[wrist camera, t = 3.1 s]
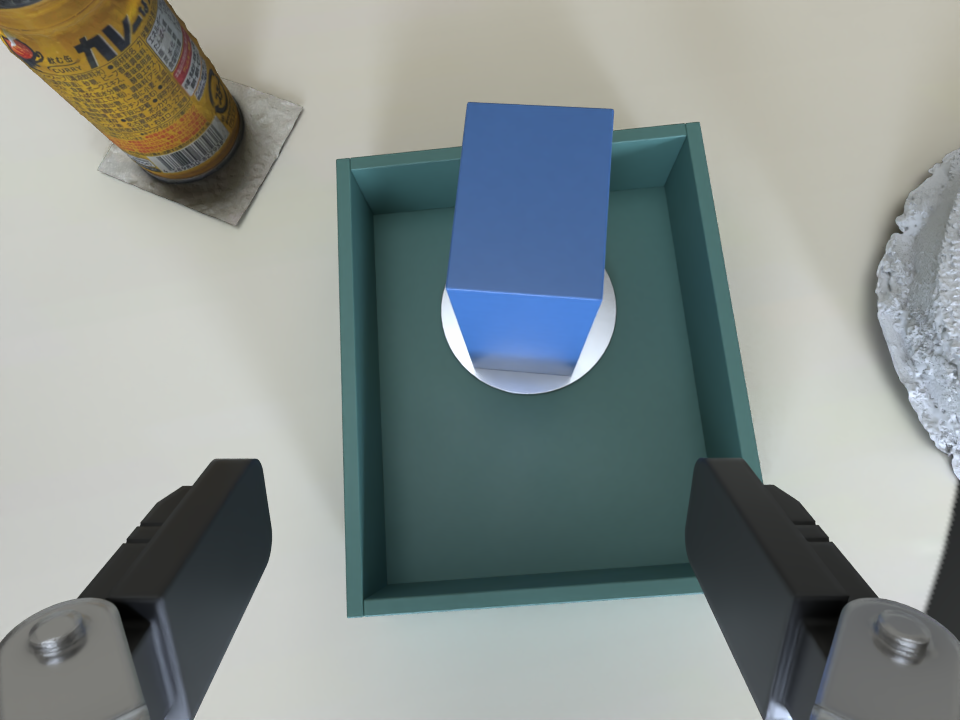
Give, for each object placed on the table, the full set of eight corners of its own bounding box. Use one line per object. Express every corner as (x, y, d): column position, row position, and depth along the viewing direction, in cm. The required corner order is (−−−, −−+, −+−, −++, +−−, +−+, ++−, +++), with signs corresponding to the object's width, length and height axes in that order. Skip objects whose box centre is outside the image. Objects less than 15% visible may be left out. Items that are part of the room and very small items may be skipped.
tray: (377, 597, 27) (346, 618, 22) (363, 210, 31) (335, 158, 26) (735, 572, 26) (782, 588, 21) (672, 180, 30) (700, 120, 25)
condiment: (168, 59, 34) (-20, -177, 22) (304, 108, 32) (181, -114, 21) (99, 172, 32) (-140, -15, 21) (238, 229, 31) (67, 63, 19)
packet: (473, 367, 28) (444, 289, 17) (486, 242, 29) (467, 101, 19) (572, 376, 27) (602, 300, 17) (580, 249, 28) (614, 108, 18)
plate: (446, 403, 28) (446, 401, 27) (436, 238, 30) (435, 234, 29) (626, 388, 27) (627, 386, 27) (604, 221, 29) (605, 218, 29)
